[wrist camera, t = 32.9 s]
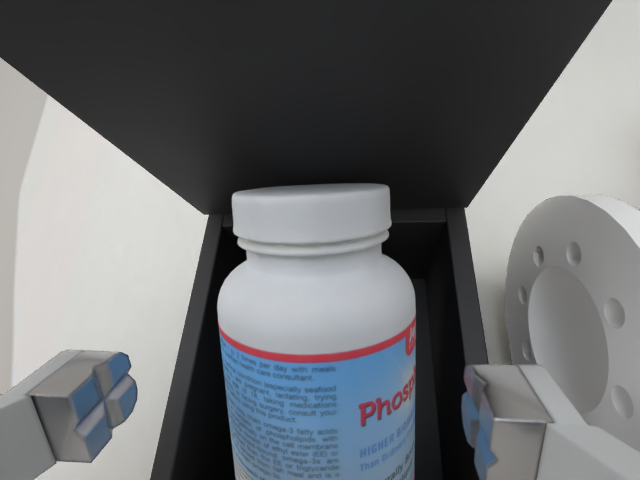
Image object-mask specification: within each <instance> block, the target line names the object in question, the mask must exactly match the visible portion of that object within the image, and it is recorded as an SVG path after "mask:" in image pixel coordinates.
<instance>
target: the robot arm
mask: <svg viewBox="0 0 640 480" xmlns="http://www.w3.org/2000/svg"><path fill="white" fill-rule="evenodd" d="M130 368H131V363H130V360H129V357H128V355H126V354H124V353H122V352H109V351H92V350H87V351H85V350H66V351H62V352H60V353H59V354H58V355H56V356H55V357H54V358H52V359H51V360H49V361H48V362H47V363H45V364H44V365H43V366H41V367H40V368H39V369H37V370H36V371H35V372H33V373H32V374H31V375H29V376H28V377H27V378H25V379H24V380H23V381H21V382H20V383H18V384H17V385H16V386H14V387H13V388H12V389H10V390H9V391H8V392H6V393H5V394H0V480H33V479H35V478H36V477H38V476H39V475H40V474H42V473H43V472H45V471H46V470H48V469H49V468H50V467H52V466H53V465H55V464H56V461H63V462H85V463H92V461H93V460H94V459H95V458H96V456H97V455H98V454H99V453H100V451H101V450H102V449H103V448H104V447H105V445H106V444H107V443H108V442H109V440H110V439H111V438H112V430H113V428H115V427H117V426H118V425H120V424H122V423H123V422H125V421H126V419H127V418H128V417H129V415H130V414H131V413H132V412H133V409H134V406H135V404H136V401H137V386H136V382H135V380H134V379H133V378H132V377H131V376H130V375H129V374H128V372H129V370H130ZM463 380H464V382H465V385H466V388H467V391H466V392H465V393H464V394H463V395H462V403H461V413H462V423H463V428H464V433H465V436H466V439H467V443H468V444H469V445H471V446H472V447H473V448H474V449H475V454H474V465H475V468H476V471H477V474H478V477H479V480H640V452H639V451H637V450H635V449H634V448H632V447H631V446H629V445H627V444H626V443H624V442H622V441H621V440H619V439H618V438H616V437H614V436H613V435H611V434H609V433H608V432H606V431H605V430H603V429H601V428H600V427H598V426H592V425H588V424H587V423H586V422H585V420H584V419H583V418H582V416H581V415H580V414H579V412H578V411H577V410H576V408H575V407H574V406H573V404H572V403H571V402H570V400H569V399H568V398H567V396H566V395H565V394H564V392H563V391H562V390H561V388H560V387H559V386H558V384H557V383H556V382H555V380H554V379H553V378H552V376H551V375H550V373H549V372H548V371H547V369H546V368H545V367H543V366H542V365H539V364H515V365H490V364H466V366H465V369H464V377H463Z"/></svg>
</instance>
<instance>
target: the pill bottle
mask: <svg viewBox="0 0 640 480" xmlns="http://www.w3.org/2000/svg"><path fill="white" fill-rule="evenodd" d="M232 212H233V233H234V234H235V235H236V236H238V237H239V238H238V241H237V244H238V245H239V246H240V247H241V248H243V249H245V250H246V254H247V260H246V261H244V262H243V263H241V264H240V265H239V266H237V267H236V268H235V269H234V270H233V271H232V272H231V273H230V274H229V275H228V277H227V278H226V279H225V281H224V283H223V285H222V287H221V289H220V292H219V296H218V303H217V311H218V324H219V333H220V343H221V352H222V361H223V370H224V379H225V388H226V397H227V407H228V416H229V425H230V433H231V442H232V451H233V460H234V469H235V478H236V480H415V376H416V358H415V353H416V307H415V292H414V288H413V285H412V282H411V280H410V278H409V276H408V275H407V273H406V272H405V270H404V269H403V268H402V267H401V266H400V265H399V264H398V263H397V262H396V261H394V260H393V259H391V258H390V257H388V256H386V255H384V254H382V251H381V243H382V242H384V241H385V240H387V239H388V237H389V232H388V230H387V229H389V228H390V227H391V225H392V222H391V216H390V189H389V187H388V186H387V185H384V184H374V183H340V184H312V185H293V186H279V187H267V188H257V189H250V190H243V191H238V192H235V193H234V194H233V195H232Z"/></svg>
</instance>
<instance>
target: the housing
mask: <svg viewBox="0 0 640 480" xmlns="http://www.w3.org/2000/svg"><path fill="white" fill-rule="evenodd" d="M505 309H506V324H507V334H508V340H509V346H510V352H511V357H512V361H513V365H515V364H539V365H542V366H543V367H545V368H546V369H547V371H548V372H549V373H550V375H551V376H552V378H553V379H554V380H555V382H556V383H557V384H558V386H559V387H560V388H561V390H562V391H563V392H564V394H565V395H566V396H567V398H568V399H569V400H570V402H571V403H572V404H573V406H574V407H575V408H576V410H577V411H578V412H579V414H580V415H581V416H582V418H583V419H584V420H585V422H586V423H587V424H588V425H592V426H598V427H600V428H601V429H603V430H605V431H606V432H608V433H609V434H611V435H613V436H614V437H616V438H618V439H619V440H621V441H622V442H624V443H626V444H627V445H629V446H631V447H632V448H634V449H635V450H637V451H639V452H640V211H639V210H638V209H636V208H634V207H632V206H630V205H629V204H627V203H625V202H623V201H621V200H619V199H616V198H612V197H608V196H604V195H591V194H584V195H564V196H556V197H553V198H550V199H546V200H545V201H543V202H542V203H540V204H539V205H537V206H536V207H535V208H534V209H533V210H532V211H531V212H530V213H529V214H528V215H527V217H526V218H525V220H524V221H523V223H522V224H521V226H520V228H519V230H518V232H517V235H516V237H515V239H514V243H513V246H512V249H511V252H510V257H509V262H508V267H507V276H506V289H505Z"/></svg>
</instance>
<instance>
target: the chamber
mask: <svg viewBox="0 0 640 480" xmlns="http://www.w3.org/2000/svg"><path fill="white" fill-rule="evenodd" d="M390 216H391V222H392V225H391V227H390V228H389V229H387V230H388V232H389V237H388V239H387V240H385V241H384V242H382V243H381V251H382V254H384V255H386V256H388V257H390V258H391V259H393V260H394V261H396V262H397V263H398V264H399V265H400V266H401V267H402V268H403V269H404V270H405V272H406V273H407V275H408V276H409V278H410V280H411V282H412V285H413V288H414V292H415V307H416V353H415V358H416V376H415V480H479V477H478V474H477V471H476V468H475V465H474V454H475V449H474V448H473V447H472V446H471V445H469V444H468V443H467V439H466V436H465V433H464V428H463V423H462V413H461V403H462V395H463V394H464V393H465V392H466V391H467V388H466V385H465V382H464V380H463V377H464V369H465V366H466V364H489V363H488V356H487V350H486V344H485V337H484V331H483V324H482V318H481V312H480V305H479V299H478V292H477V286H476V280H475V273H474V267H473V260H472V254H471V248H470V241H469V235H468V228H467V222H466V216H465V209H464V208H429V209H392V210H390ZM238 238H239V237H238V236H236V235H235V234H234V233H233V214H209V217H208V221H207V226H206V230H205V235H204V239H203V244H202V248H201V253H200V257H199V262H198V266H197V271H196V275H195V280H194V284H193V289H192V293H191V298H190V302H189V307H188V311H187V316H186V320H185V325H184V329H183V334H182V338H181V343H180V347H179V352H178V356H177V361H176V365H175V370H174V374H173V379H172V383H171V388H170V392H169V397H168V401H167V406H166V410H165V415H164V419H163V424H162V428H161V433H160V437H159V442H158V446H157V451H156V455H155V460H154V464H153V469H152V473H151V478H150V480H236V478H235V469H234V460H233V451H232V442H231V433H230V425H229V416H228V407H227V397H226V388H225V379H224V370H223V361H222V352H221V343H220V333H219V324H218V311H217V303H218V296H219V292H220V289H221V287H222V285H223V283H224V281H225V279H226V278H227V277H228V275H229V274H230V273H231V272H232V271H233V270H234V269H235V268H236V267H237V266H239V265H240V264H241V263H243V262H244V261H246V260H247V254H246V250H245V249H243V248H241V247H240V246H239V245H238V244H237V241H238Z"/></svg>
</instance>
